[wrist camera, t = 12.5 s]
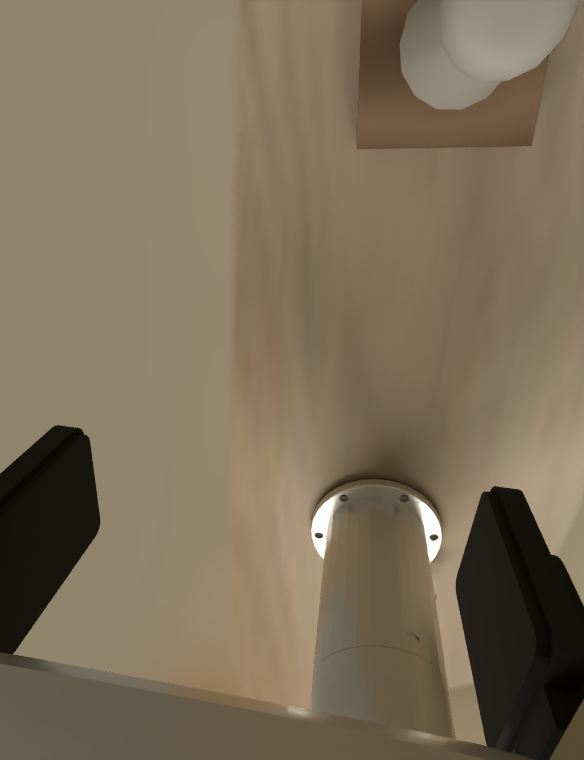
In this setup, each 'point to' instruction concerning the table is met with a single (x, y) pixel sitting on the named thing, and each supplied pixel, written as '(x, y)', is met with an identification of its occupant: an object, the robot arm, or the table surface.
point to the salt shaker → (477, 45)
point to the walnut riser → (420, 120)
